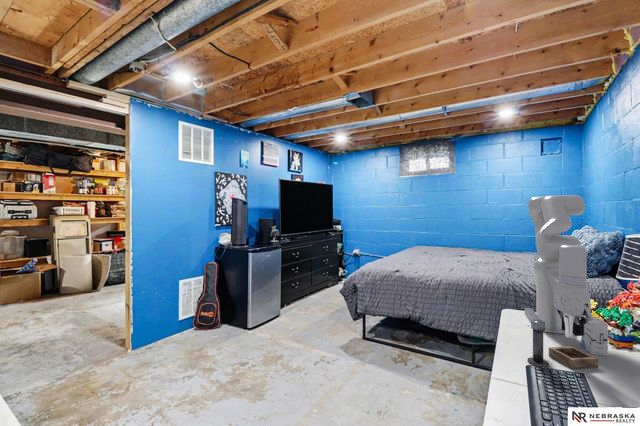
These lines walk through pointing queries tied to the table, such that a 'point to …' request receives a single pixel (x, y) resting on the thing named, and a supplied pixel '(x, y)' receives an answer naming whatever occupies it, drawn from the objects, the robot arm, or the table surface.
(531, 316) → the lever
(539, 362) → the post
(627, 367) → the table surface
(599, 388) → the table surface
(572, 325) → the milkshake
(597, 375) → the table surface
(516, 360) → the table surface
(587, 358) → the square wooden tray
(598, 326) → the ink box
